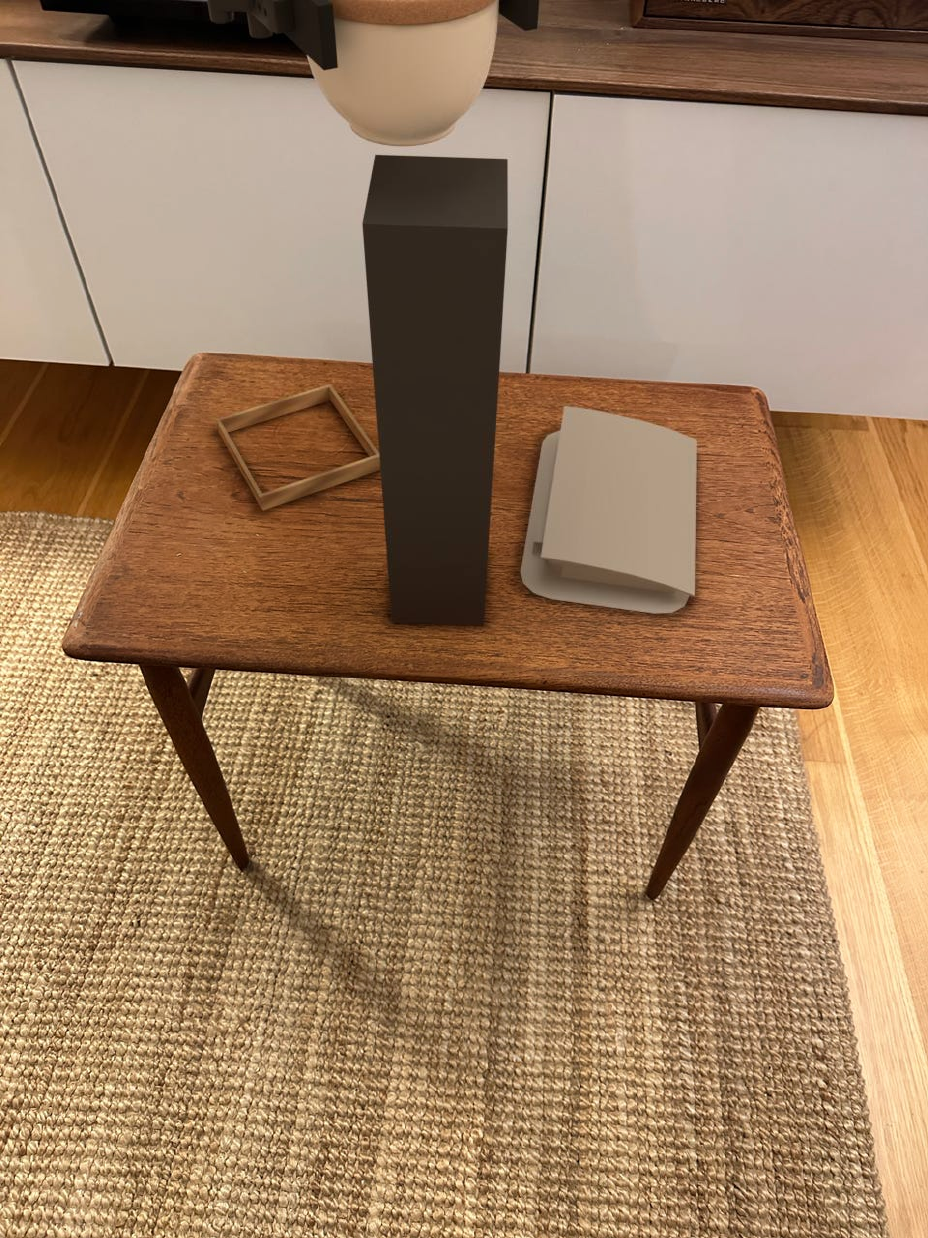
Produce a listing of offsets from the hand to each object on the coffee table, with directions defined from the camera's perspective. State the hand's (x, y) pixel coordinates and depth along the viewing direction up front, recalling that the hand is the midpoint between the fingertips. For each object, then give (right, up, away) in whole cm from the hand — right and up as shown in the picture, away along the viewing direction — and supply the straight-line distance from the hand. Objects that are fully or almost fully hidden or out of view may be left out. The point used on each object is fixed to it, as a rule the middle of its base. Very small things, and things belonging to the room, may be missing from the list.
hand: (435, 18), depth 45 cm
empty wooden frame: (-15, -13, +47) cm, 51 cm away
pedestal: (-1, -27, +36) cm, 45 cm away
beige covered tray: (+16, -20, +42) cm, 49 cm away
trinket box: (-2, -1, +7) cm, 8 cm away
